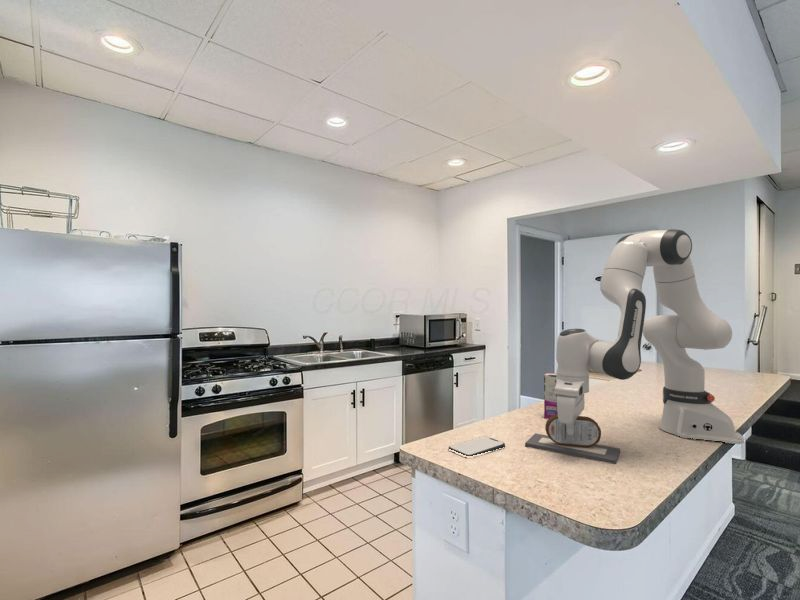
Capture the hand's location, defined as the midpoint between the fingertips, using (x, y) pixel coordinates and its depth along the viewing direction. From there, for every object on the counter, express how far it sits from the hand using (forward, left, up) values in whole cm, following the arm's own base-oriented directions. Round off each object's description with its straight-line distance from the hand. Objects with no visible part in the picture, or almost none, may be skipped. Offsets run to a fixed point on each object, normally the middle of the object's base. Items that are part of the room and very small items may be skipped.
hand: (572, 431), depth 119 cm
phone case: (+23, +16, -6) cm, 29 cm away
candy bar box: (+10, -32, -5) cm, 34 cm away
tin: (0, 0, -4) cm, 4 cm away
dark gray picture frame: (0, 0, -5) cm, 5 cm away
